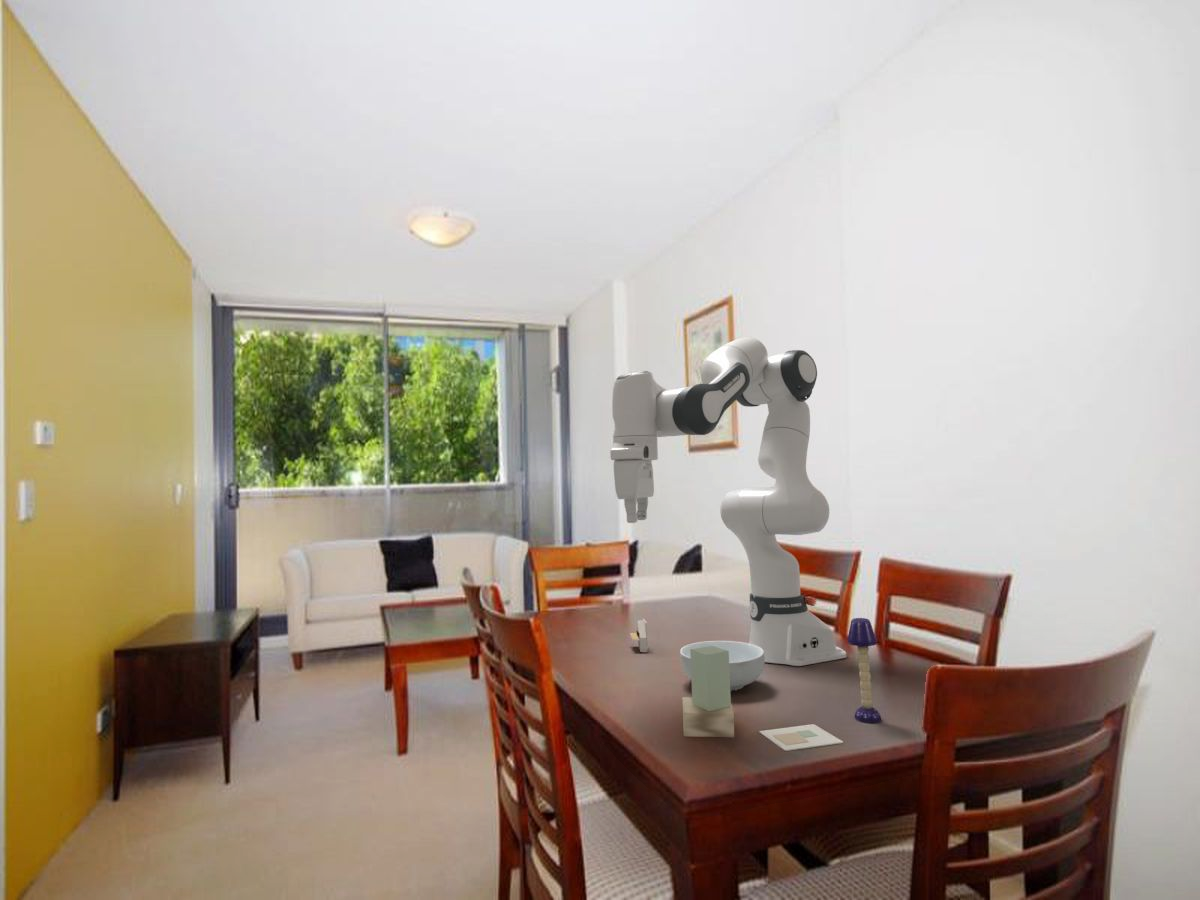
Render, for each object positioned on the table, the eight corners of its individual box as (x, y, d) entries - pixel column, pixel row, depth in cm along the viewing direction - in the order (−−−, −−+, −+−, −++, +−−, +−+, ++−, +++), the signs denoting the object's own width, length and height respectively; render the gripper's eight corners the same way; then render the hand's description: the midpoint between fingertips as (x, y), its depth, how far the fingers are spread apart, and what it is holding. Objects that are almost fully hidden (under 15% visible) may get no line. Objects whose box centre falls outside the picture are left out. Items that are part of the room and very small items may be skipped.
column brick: (713, 699, 114) (711, 645, 115) (731, 706, 110) (728, 650, 111) (692, 704, 112) (690, 649, 113) (709, 711, 108) (706, 654, 109)
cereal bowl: (678, 673, 143) (678, 640, 143) (758, 673, 142) (756, 639, 142) (682, 699, 126) (682, 661, 126) (772, 699, 125) (771, 661, 125)
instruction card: (813, 725, 111) (813, 723, 111) (843, 743, 103) (843, 741, 103) (759, 732, 109) (759, 730, 109) (785, 751, 101) (785, 749, 101)
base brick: (730, 721, 115) (729, 697, 115) (734, 739, 107) (733, 713, 107) (683, 720, 116) (682, 697, 116) (683, 738, 108) (683, 712, 108)
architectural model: (633, 655, 161) (633, 623, 161) (630, 648, 168) (629, 618, 168) (647, 654, 161) (647, 623, 162) (643, 647, 168) (643, 617, 168)
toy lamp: (865, 725, 111) (861, 623, 111) (844, 716, 115) (840, 618, 116) (887, 720, 113) (882, 620, 113) (865, 712, 117) (862, 615, 118)
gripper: (631, 454, 145) (632, 518, 144) (607, 450, 125) (609, 524, 124) (659, 453, 143) (661, 518, 143) (641, 449, 123) (643, 524, 123)
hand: (637, 521), depth 133 cm, fingers open, 8 cm apart
